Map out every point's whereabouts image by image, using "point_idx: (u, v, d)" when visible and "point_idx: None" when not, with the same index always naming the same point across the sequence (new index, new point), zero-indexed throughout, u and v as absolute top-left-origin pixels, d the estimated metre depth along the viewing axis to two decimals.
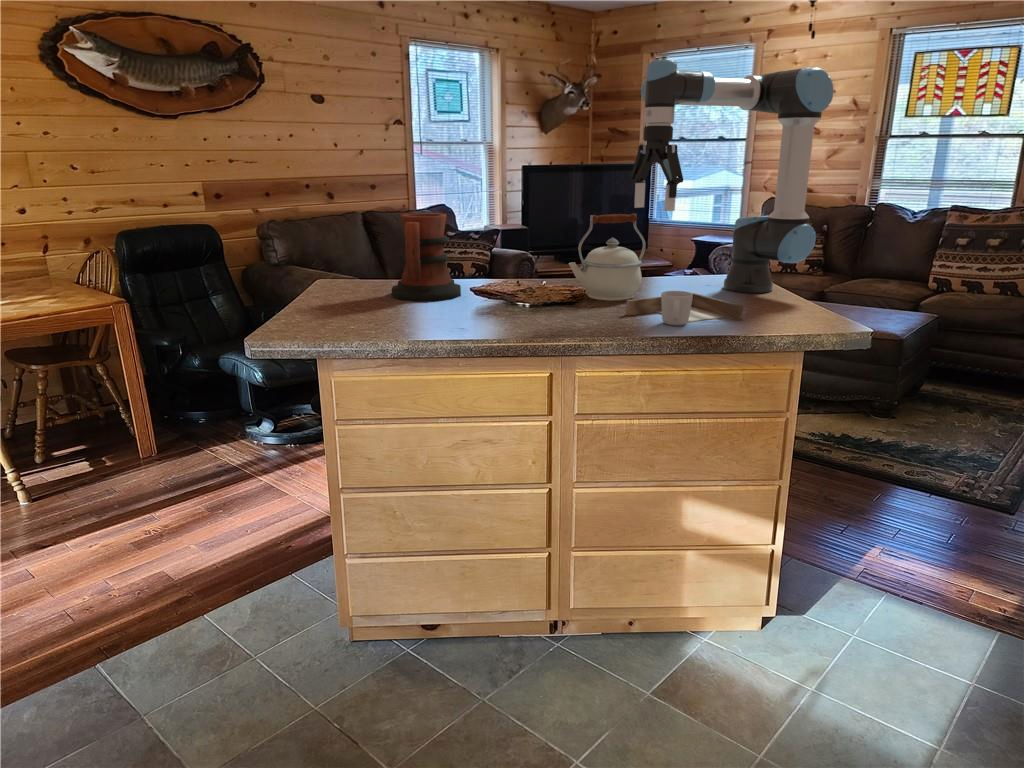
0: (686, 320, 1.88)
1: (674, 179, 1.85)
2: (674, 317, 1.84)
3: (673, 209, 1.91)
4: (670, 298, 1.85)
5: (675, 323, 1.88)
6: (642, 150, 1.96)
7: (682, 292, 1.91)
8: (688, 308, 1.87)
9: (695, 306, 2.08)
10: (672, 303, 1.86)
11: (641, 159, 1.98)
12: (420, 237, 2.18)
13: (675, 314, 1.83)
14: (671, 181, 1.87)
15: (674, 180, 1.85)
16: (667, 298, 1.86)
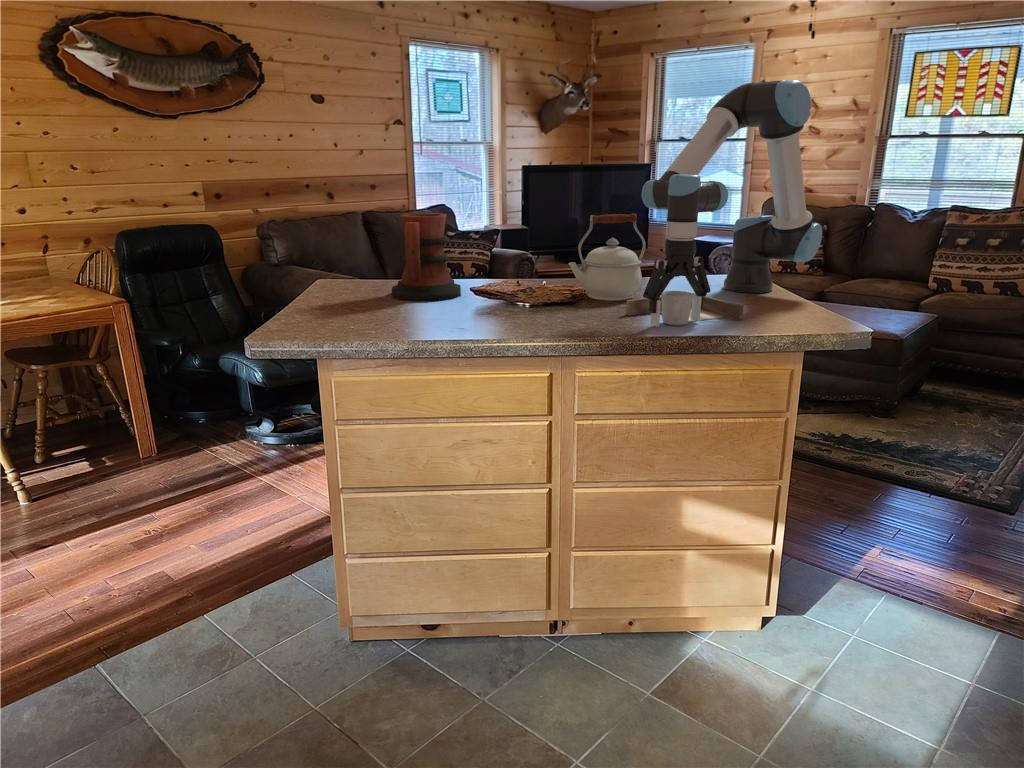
0: (686, 320, 1.88)
1: None
2: (674, 317, 1.84)
3: (655, 325, 1.85)
4: (670, 298, 1.85)
5: (675, 323, 1.88)
6: None
7: (682, 292, 1.91)
8: (688, 308, 1.87)
9: None
10: (672, 303, 1.86)
11: (697, 271, 1.88)
12: (420, 237, 2.18)
13: (675, 314, 1.83)
14: None
15: None
16: (667, 298, 1.86)
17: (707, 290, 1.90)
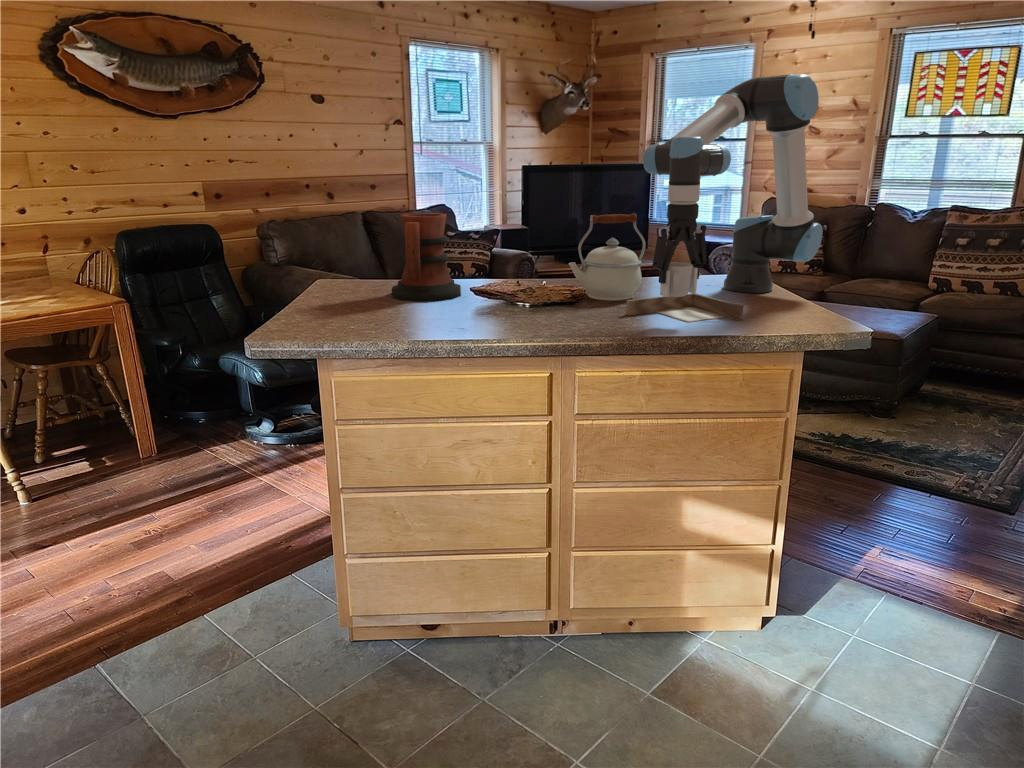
0: (686, 291, 1.86)
1: None
2: (674, 288, 1.82)
3: (665, 295, 1.84)
4: (670, 269, 1.83)
5: (675, 294, 1.85)
6: (695, 229, 1.85)
7: (682, 263, 1.89)
8: (688, 279, 1.84)
9: (695, 306, 2.08)
10: (672, 274, 1.83)
11: (697, 239, 1.86)
12: (420, 237, 2.18)
13: (675, 284, 1.81)
14: None
15: None
16: None
17: (703, 261, 1.86)
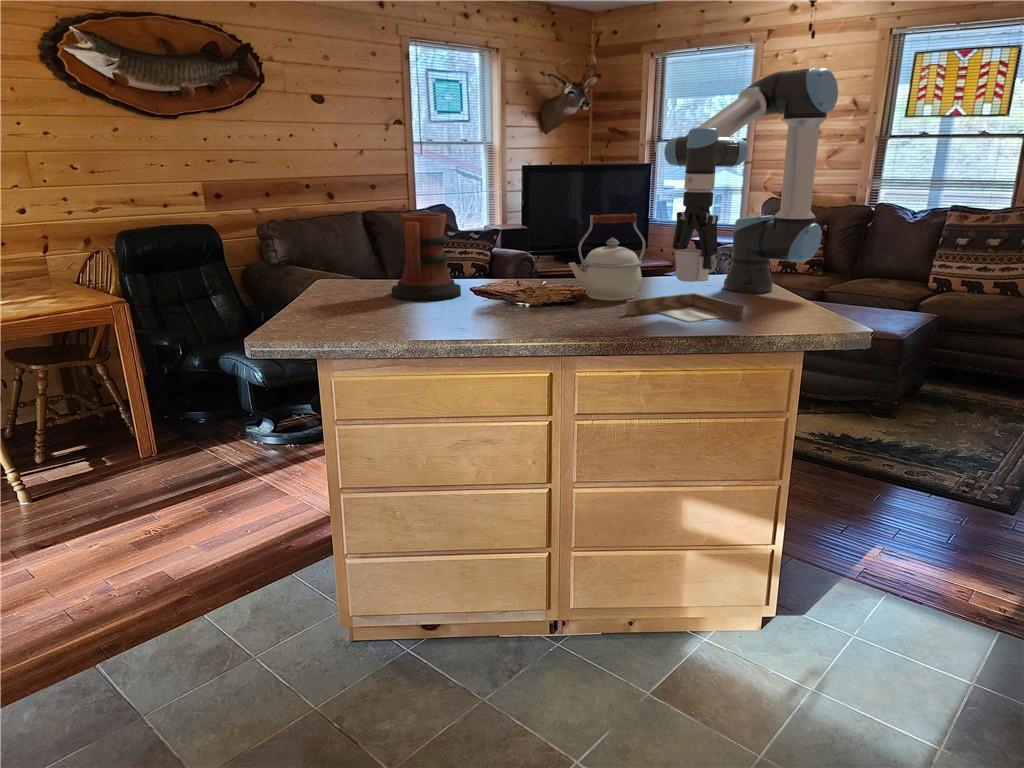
0: None
1: (709, 252, 1.88)
2: (713, 270, 1.94)
3: (706, 279, 1.93)
4: None
5: None
6: (681, 216, 1.96)
7: (678, 250, 1.96)
8: None
9: (695, 306, 2.08)
10: None
11: (681, 226, 1.97)
12: (420, 237, 2.18)
13: (715, 266, 1.94)
14: (705, 254, 1.89)
15: (708, 253, 1.88)
16: None
17: None
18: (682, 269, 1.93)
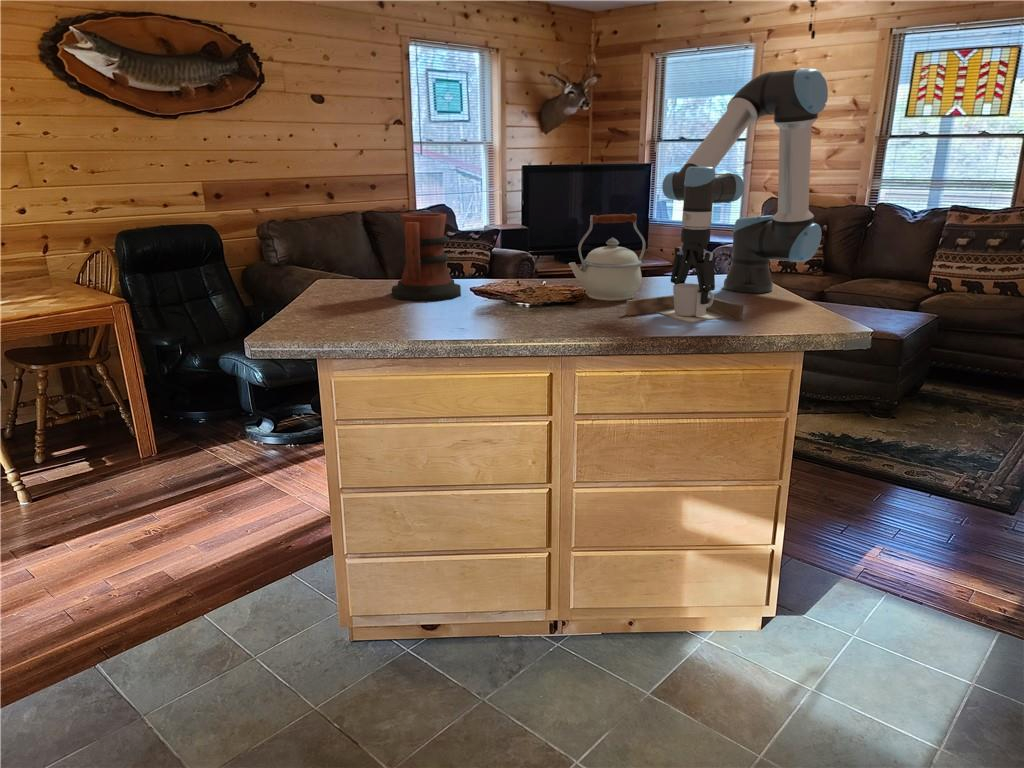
0: None
1: (706, 288, 1.90)
2: (711, 304, 1.97)
3: (704, 314, 1.96)
4: None
5: None
6: (679, 252, 1.99)
7: (676, 285, 1.99)
8: None
9: None
10: None
11: (679, 261, 2.00)
12: (420, 237, 2.18)
13: None
14: (703, 289, 1.92)
15: (706, 289, 1.91)
16: None
17: None
18: (680, 304, 1.96)
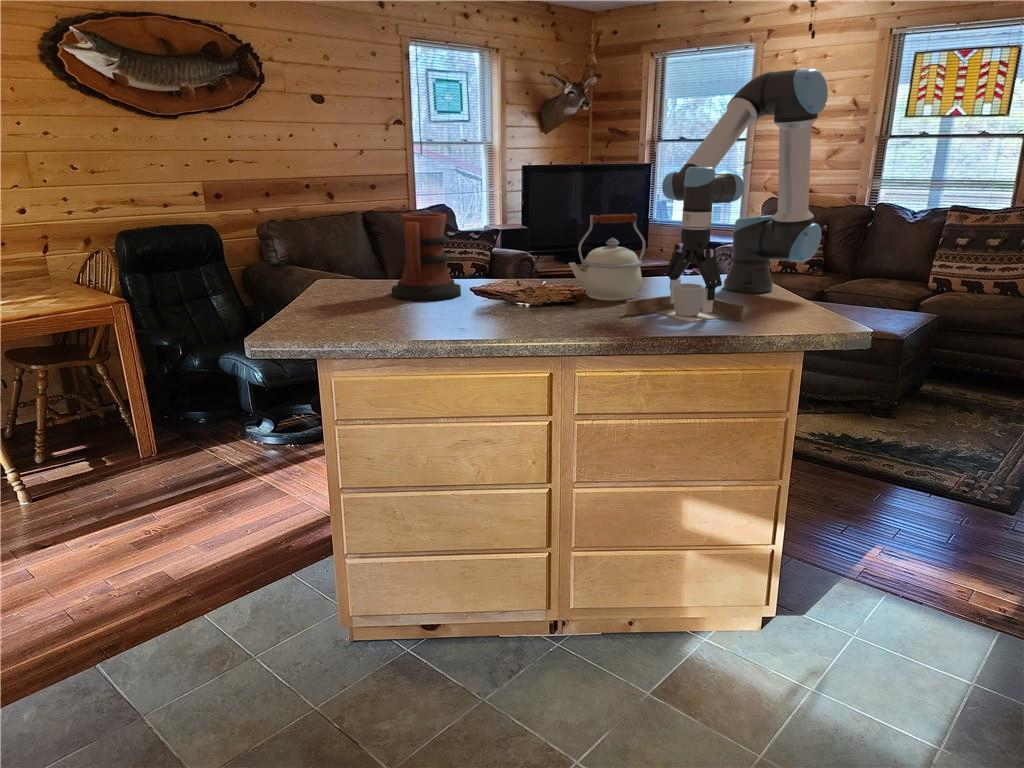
0: None
1: (713, 284, 1.88)
2: None
3: (711, 310, 1.93)
4: (702, 290, 1.95)
5: (698, 312, 1.98)
6: (678, 249, 1.99)
7: (676, 285, 1.99)
8: None
9: None
10: (702, 294, 1.96)
11: (677, 257, 2.01)
12: (420, 237, 2.18)
13: (713, 301, 1.96)
14: (710, 285, 1.89)
15: (713, 285, 1.88)
16: (700, 290, 1.94)
17: None
18: (680, 304, 1.96)
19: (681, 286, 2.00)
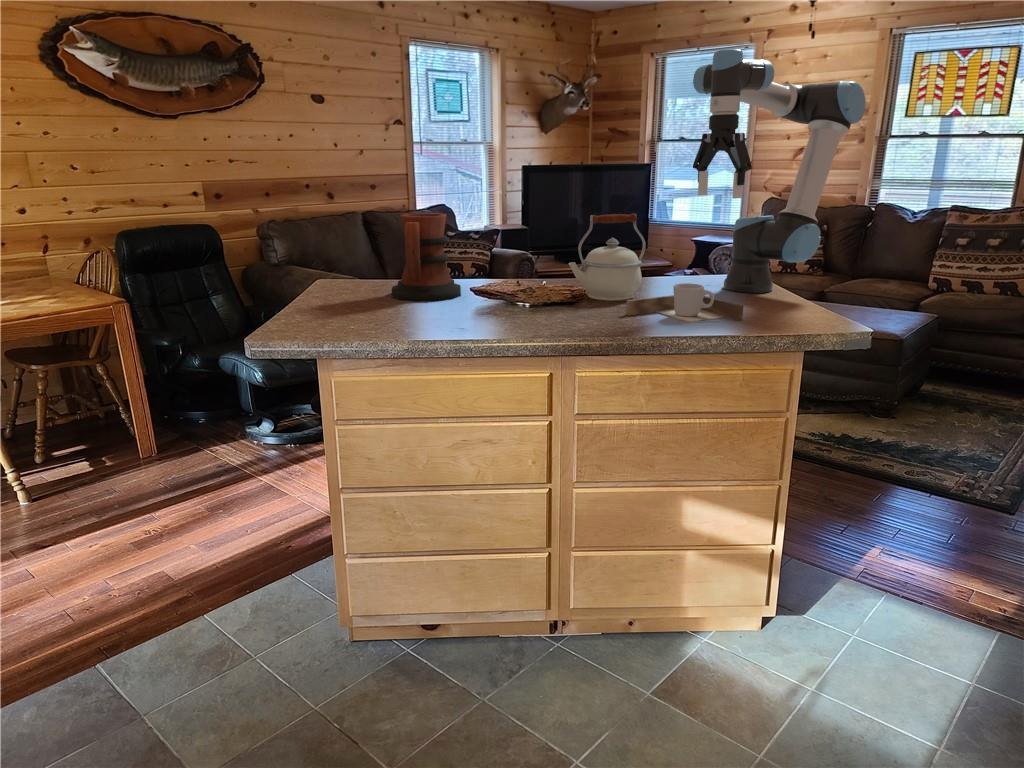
0: None
1: (743, 167, 1.89)
2: (711, 305, 1.97)
3: (741, 196, 1.94)
4: (702, 290, 1.95)
5: (698, 312, 1.98)
6: (706, 139, 1.99)
7: (676, 285, 1.99)
8: None
9: None
10: (702, 294, 1.96)
11: (705, 148, 2.01)
12: (420, 237, 2.18)
13: (713, 301, 1.96)
14: (740, 169, 1.90)
15: (743, 168, 1.89)
16: (700, 290, 1.94)
17: None
18: (680, 304, 1.96)
19: (681, 286, 2.00)
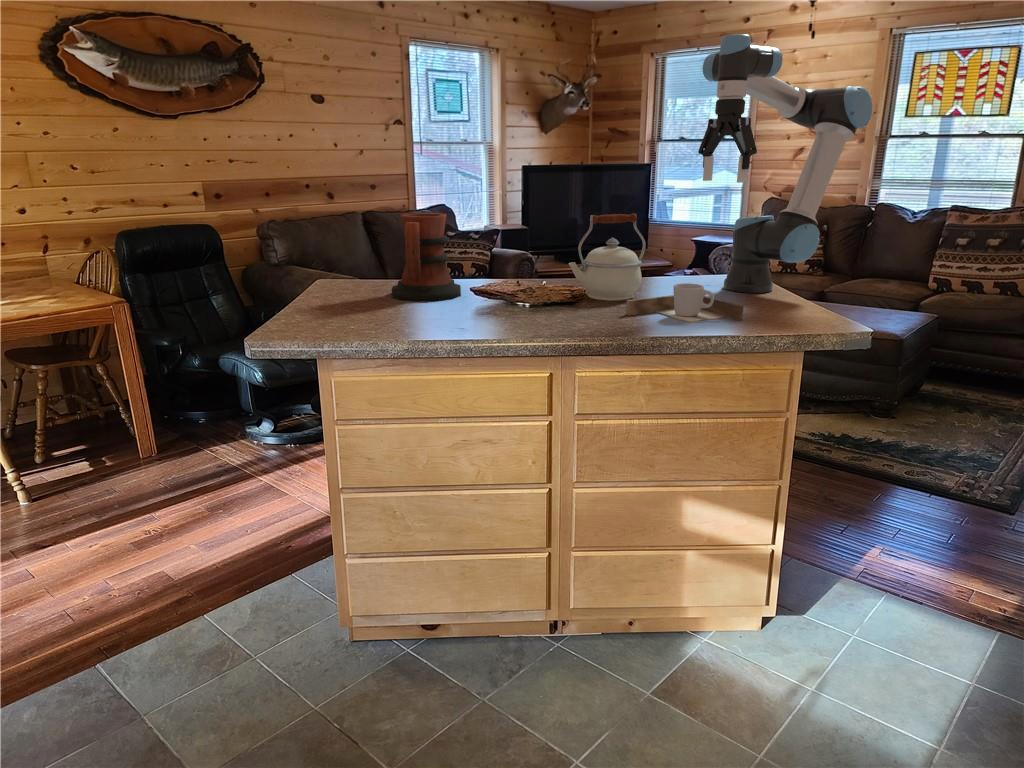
0: None
1: (748, 151, 1.90)
2: (711, 305, 1.97)
3: (745, 181, 1.95)
4: (702, 290, 1.95)
5: (698, 312, 1.98)
6: (712, 124, 2.01)
7: (676, 285, 1.99)
8: None
9: None
10: (702, 294, 1.96)
11: (710, 133, 2.03)
12: (420, 237, 2.18)
13: (713, 301, 1.96)
14: (745, 153, 1.92)
15: (748, 152, 1.90)
16: (700, 290, 1.94)
17: None
18: (680, 304, 1.96)
19: (681, 286, 2.00)
